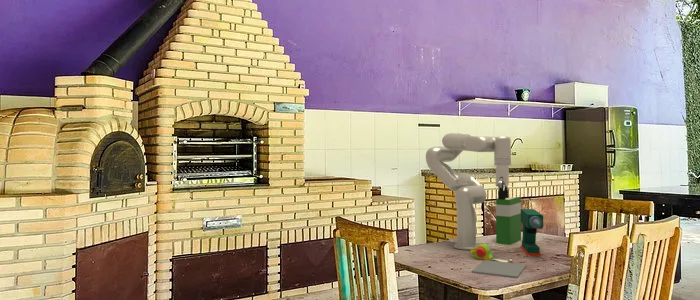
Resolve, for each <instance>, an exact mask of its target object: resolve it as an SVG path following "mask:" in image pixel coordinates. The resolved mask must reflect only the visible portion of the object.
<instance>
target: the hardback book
mask: <svg viewBox="0 0 700 300" xmlns="http://www.w3.org/2000/svg"><path fill="white" fill-rule="evenodd" d="M521 209H522V196H517V197H510V196H509V195H508V198H505V200H499V199H498V198H495V236H496V237H495V241H496V242H495V244H497V243H498V245H500V244H501V245H505V246H512V245H513V244H516V243H517V242H519V241H522V222H521Z"/></svg>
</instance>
